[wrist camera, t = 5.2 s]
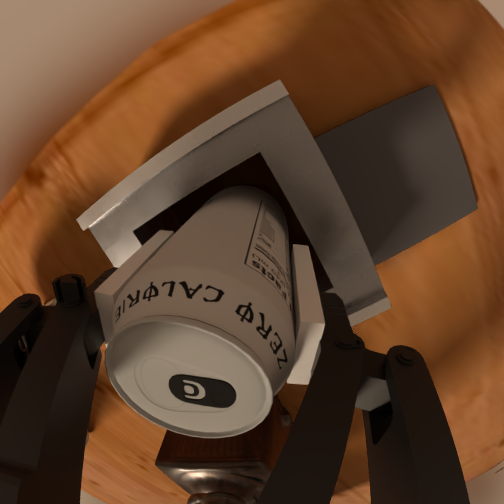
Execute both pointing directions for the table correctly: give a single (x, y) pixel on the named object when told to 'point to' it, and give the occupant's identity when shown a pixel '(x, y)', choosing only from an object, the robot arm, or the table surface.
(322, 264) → the housing
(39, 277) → the table surface
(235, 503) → the brown manual coffee grinder
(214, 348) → the energy drink can
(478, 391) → the table surface
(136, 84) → the table surface
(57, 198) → the table surface
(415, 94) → the mat
